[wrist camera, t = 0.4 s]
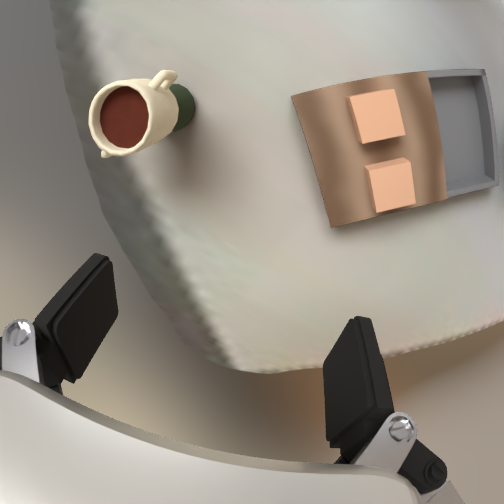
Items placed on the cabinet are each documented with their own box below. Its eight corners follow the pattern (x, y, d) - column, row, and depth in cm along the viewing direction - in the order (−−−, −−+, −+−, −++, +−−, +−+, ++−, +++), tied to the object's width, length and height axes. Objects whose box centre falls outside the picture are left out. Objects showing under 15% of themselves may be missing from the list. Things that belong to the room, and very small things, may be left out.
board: (412, 72, 25) (426, 71, 21) (434, 188, 32) (447, 199, 29) (291, 96, 29) (291, 96, 26) (327, 214, 37) (331, 227, 33)
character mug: (182, 59, 28) (128, 47, 17) (222, 93, 30) (185, 95, 19) (131, 121, 33) (68, 141, 22) (166, 154, 35) (114, 187, 24)
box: (470, 69, 22) (484, 69, 19) (485, 177, 29) (498, 185, 26) (412, 72, 25) (424, 71, 22) (434, 188, 32) (445, 197, 29)
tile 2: (387, 88, 24) (394, 89, 22) (398, 132, 26) (405, 135, 24) (345, 96, 25) (349, 97, 23) (358, 140, 27) (362, 143, 26)
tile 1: (403, 157, 27) (410, 161, 26) (409, 197, 30) (415, 203, 28) (364, 166, 29) (368, 170, 27) (372, 206, 31) (376, 212, 29)
